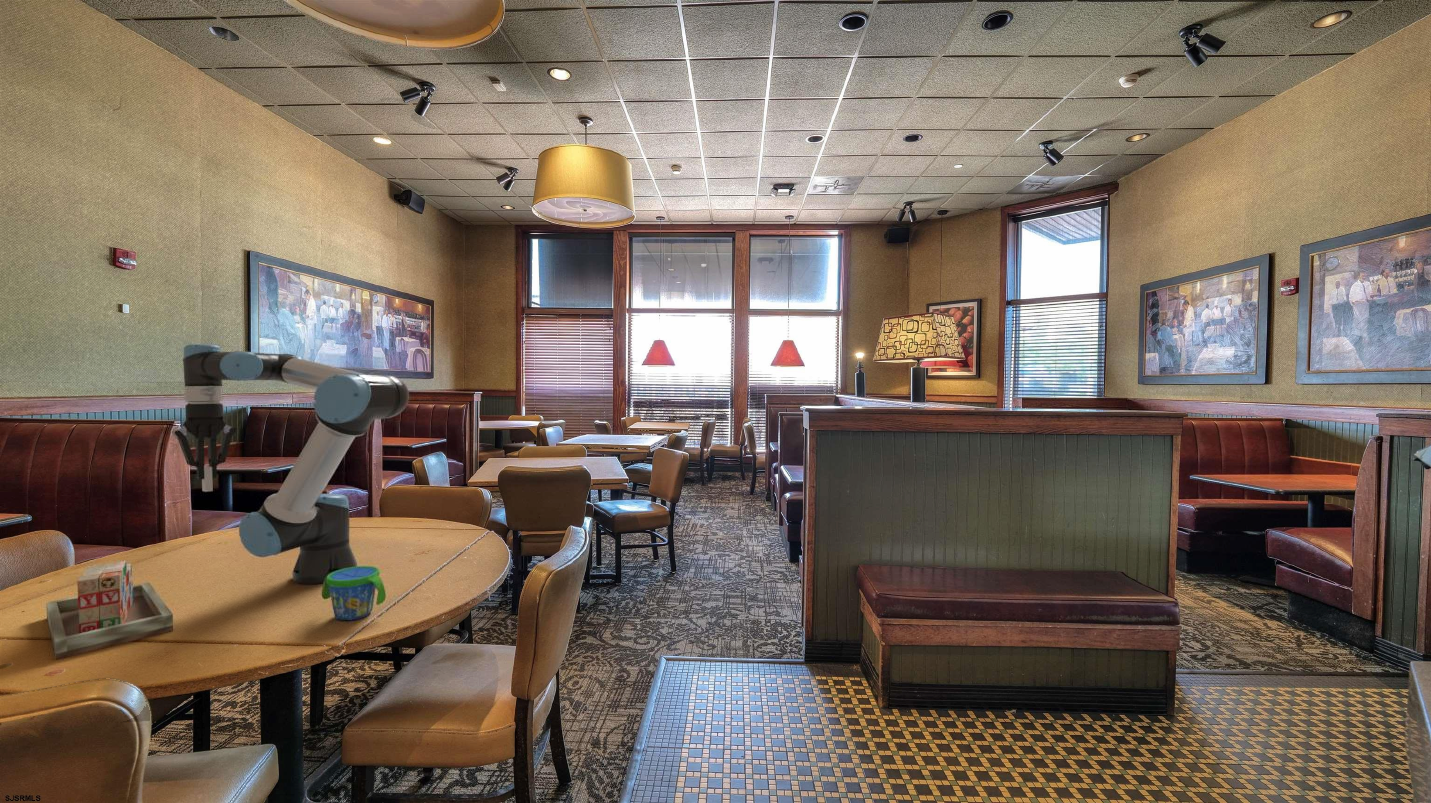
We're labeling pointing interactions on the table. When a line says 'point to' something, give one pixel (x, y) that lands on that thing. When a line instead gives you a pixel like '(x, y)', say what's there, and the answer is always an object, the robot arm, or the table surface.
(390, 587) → the table surface
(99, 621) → the stack of blocks
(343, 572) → the snack cup
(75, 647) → the grey rectangular tray
